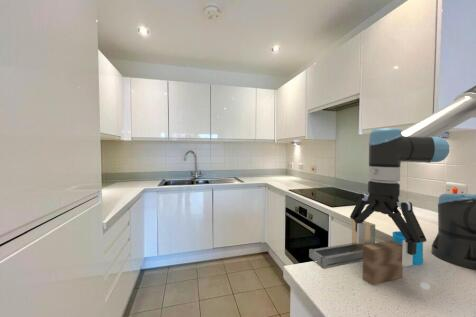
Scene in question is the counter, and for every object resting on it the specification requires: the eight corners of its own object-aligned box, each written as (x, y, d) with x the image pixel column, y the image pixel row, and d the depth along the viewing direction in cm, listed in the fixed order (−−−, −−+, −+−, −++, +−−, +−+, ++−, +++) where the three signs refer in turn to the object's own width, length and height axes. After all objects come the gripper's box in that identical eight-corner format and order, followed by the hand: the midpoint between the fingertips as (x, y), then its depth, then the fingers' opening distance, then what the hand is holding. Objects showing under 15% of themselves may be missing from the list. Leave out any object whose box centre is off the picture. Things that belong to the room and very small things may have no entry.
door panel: (392, 272, 61) (392, 240, 61) (402, 277, 58) (402, 244, 58) (362, 279, 58) (362, 245, 58) (372, 285, 55) (372, 249, 55)
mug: (394, 250, 75) (394, 229, 75) (423, 258, 69) (423, 235, 69) (388, 262, 67) (388, 238, 67) (421, 272, 61) (421, 246, 61)
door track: (356, 248, 77) (357, 218, 77) (375, 258, 70) (375, 224, 69) (309, 257, 70) (309, 223, 70) (324, 268, 63) (324, 231, 63)
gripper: (339, 177, 69) (338, 237, 69) (426, 188, 45) (423, 280, 45) (356, 176, 71) (354, 235, 71) (447, 187, 47) (444, 275, 47)
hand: (381, 253), depth 58 cm, fingers open, 13 cm apart
